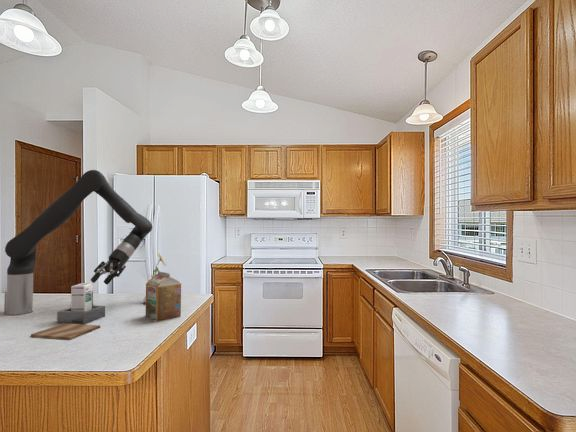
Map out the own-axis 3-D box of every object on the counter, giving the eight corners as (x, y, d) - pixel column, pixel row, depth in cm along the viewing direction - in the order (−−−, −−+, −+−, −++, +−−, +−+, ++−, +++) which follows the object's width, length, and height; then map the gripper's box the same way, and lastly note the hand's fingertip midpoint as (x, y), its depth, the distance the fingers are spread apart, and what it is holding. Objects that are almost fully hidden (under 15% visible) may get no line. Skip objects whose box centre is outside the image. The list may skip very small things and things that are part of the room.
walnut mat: (30, 336, 119) (30, 334, 119) (63, 325, 133) (63, 323, 133) (70, 339, 116) (70, 337, 116) (100, 327, 130) (100, 325, 130)
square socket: (57, 322, 135) (57, 311, 136) (80, 315, 147) (80, 304, 147) (83, 324, 133) (83, 313, 133) (105, 316, 145) (105, 305, 145)
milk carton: (180, 316, 146) (181, 272, 146) (157, 321, 138) (157, 274, 139) (168, 312, 153) (169, 269, 154) (145, 316, 146) (146, 272, 146)
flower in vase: (162, 305, 166) (163, 253, 167) (139, 305, 166) (139, 253, 167) (171, 299, 179) (172, 251, 180) (150, 299, 179) (151, 251, 180)
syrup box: (84, 321, 137) (85, 285, 138) (70, 321, 137) (71, 285, 138) (93, 317, 143) (93, 283, 143) (79, 317, 143) (79, 283, 144)
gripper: (106, 247, 158) (82, 275, 148) (128, 249, 152) (104, 278, 142) (116, 258, 163) (93, 286, 152) (137, 259, 157) (115, 289, 146)
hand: (98, 282), depth 147 cm, fingers open, 8 cm apart
